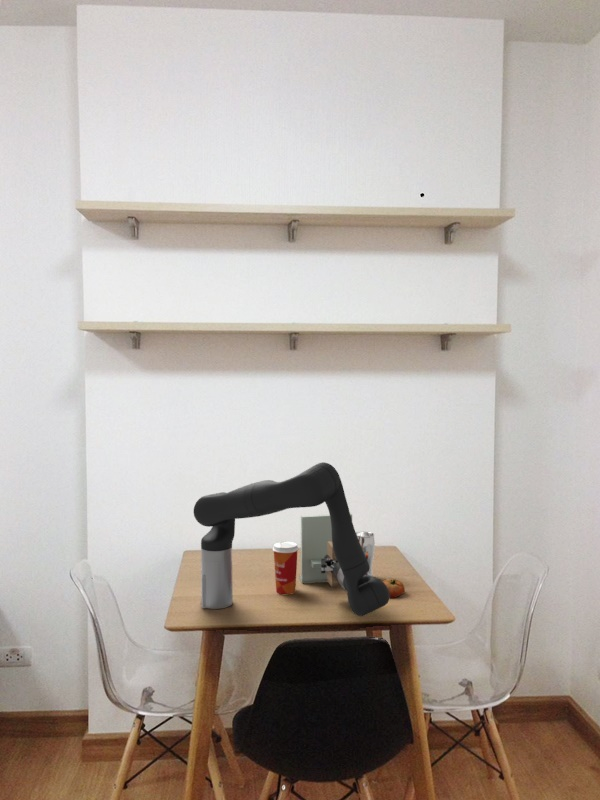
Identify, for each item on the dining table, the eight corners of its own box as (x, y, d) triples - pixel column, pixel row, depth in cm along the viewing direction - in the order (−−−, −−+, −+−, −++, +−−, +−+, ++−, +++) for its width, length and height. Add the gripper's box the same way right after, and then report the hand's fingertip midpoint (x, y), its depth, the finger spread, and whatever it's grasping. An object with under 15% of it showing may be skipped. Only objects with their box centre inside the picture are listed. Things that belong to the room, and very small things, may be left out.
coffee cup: (269, 588, 202) (269, 542, 201) (293, 585, 205) (293, 540, 204) (277, 597, 194) (277, 549, 193) (302, 594, 197) (302, 546, 196)
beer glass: (350, 579, 210) (350, 535, 209) (357, 573, 217) (358, 530, 216) (370, 582, 207) (370, 537, 207) (377, 576, 214) (377, 532, 213)
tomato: (378, 594, 193) (381, 572, 197) (376, 602, 198) (379, 580, 203) (404, 599, 192) (407, 577, 196) (401, 607, 197) (404, 585, 202)
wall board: (305, 589, 201) (305, 521, 200) (299, 578, 212) (299, 513, 210) (356, 585, 205) (356, 518, 204) (348, 575, 215) (348, 511, 214)
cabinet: (332, 588, 186) (333, 548, 185) (326, 580, 193) (327, 541, 192) (349, 587, 187) (349, 547, 186) (342, 579, 194) (343, 540, 193)
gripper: (375, 561, 177) (358, 544, 194) (326, 563, 175) (312, 546, 191) (375, 587, 178) (357, 568, 194) (325, 590, 175) (312, 570, 192)
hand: (335, 557), depth 193 cm, fingers closed on cabinet, 5 cm apart
